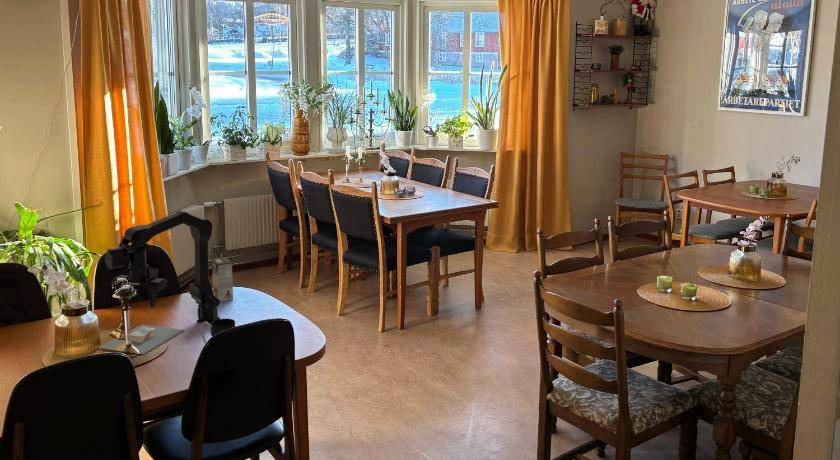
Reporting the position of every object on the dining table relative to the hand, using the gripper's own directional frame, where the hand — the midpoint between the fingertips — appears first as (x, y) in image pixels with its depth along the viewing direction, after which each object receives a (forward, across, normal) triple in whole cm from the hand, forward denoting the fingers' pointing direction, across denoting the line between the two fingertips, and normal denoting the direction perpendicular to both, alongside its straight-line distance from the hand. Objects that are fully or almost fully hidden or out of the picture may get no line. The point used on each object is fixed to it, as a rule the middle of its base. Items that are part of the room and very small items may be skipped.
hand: (141, 306), depth 273 cm
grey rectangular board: (+12, -1, +2) cm, 12 cm away
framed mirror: (+11, -1, +2) cm, 11 cm away
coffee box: (+12, -4, -49) cm, 51 cm away
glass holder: (+12, -38, +14) cm, 42 cm away
